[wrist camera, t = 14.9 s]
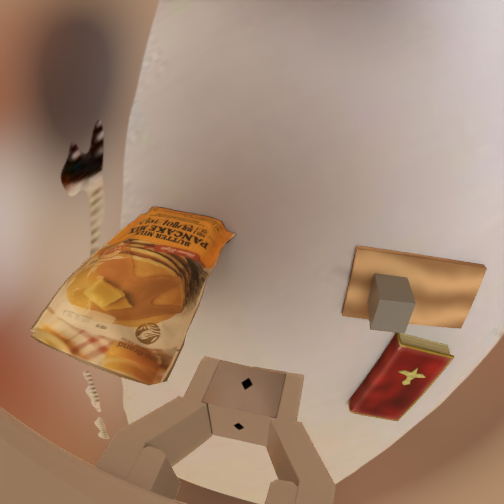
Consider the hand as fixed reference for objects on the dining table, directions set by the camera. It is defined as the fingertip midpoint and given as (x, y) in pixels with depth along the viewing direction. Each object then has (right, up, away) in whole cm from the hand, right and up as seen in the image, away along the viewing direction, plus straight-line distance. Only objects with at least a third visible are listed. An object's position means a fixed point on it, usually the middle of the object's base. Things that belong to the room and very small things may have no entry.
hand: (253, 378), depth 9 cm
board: (+25, -2, +36) cm, 44 cm away
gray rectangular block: (+20, -2, +36) cm, 42 cm away
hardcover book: (+28, -20, +46) cm, 57 cm away
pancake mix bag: (-10, +7, +41) cm, 43 cm away
